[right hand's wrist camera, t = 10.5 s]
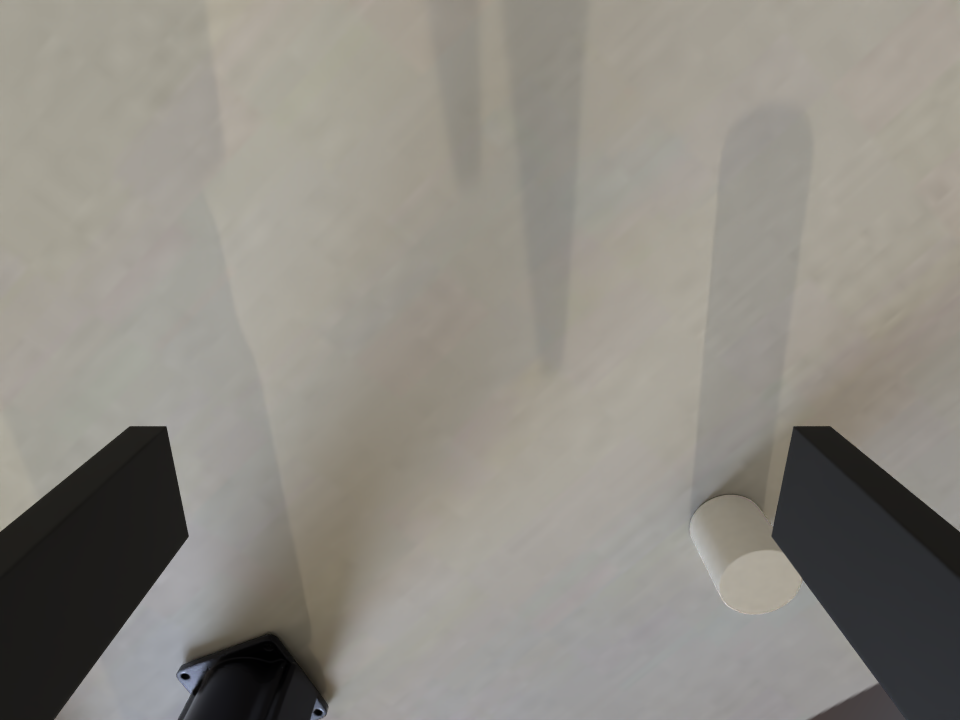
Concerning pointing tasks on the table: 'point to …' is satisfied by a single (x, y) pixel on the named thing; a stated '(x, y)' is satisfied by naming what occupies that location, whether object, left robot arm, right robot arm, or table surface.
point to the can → (743, 555)
